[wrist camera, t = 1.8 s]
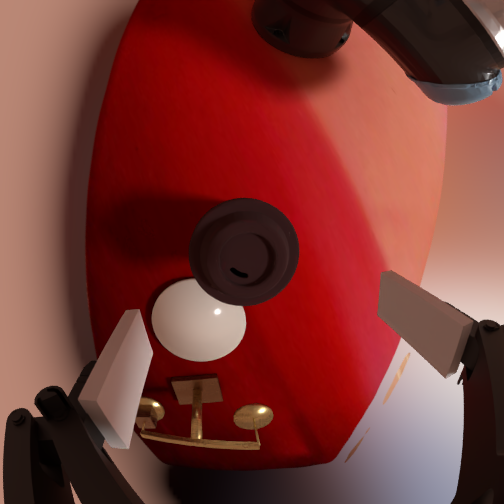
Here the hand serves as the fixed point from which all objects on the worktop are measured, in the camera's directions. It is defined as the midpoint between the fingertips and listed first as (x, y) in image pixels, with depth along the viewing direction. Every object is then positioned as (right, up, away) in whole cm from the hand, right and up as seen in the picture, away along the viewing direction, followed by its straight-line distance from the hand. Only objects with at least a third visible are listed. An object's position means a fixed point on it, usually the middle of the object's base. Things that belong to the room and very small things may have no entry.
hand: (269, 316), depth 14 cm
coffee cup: (-3, +6, +23) cm, 25 cm away
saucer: (-9, -7, +26) cm, 28 cm away
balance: (-10, -21, +30) cm, 38 cm away
